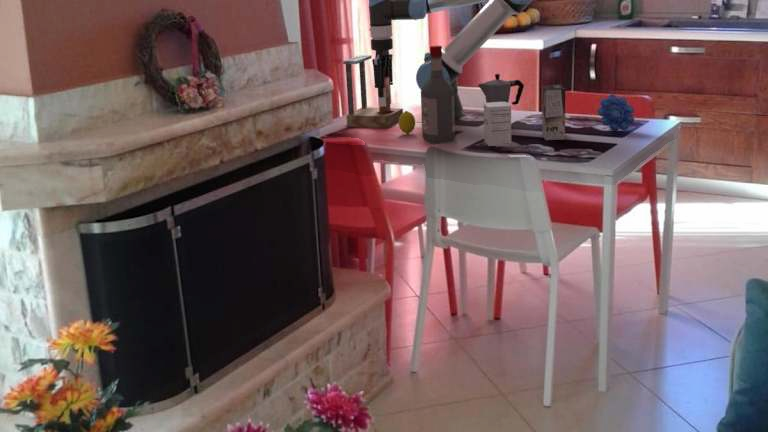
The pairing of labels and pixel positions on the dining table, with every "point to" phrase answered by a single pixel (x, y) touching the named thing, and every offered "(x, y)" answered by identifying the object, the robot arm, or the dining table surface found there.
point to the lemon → (406, 122)
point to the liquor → (437, 103)
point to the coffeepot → (500, 90)
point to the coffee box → (553, 112)
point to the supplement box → (497, 123)
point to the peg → (386, 109)
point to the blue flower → (616, 112)
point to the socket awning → (364, 114)
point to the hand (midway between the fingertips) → (384, 104)
